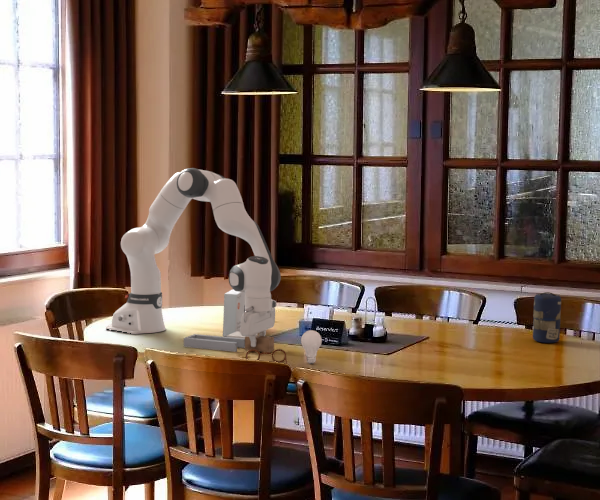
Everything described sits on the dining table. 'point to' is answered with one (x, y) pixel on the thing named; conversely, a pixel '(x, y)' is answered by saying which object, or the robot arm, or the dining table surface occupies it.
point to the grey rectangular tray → (214, 342)
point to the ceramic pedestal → (237, 335)
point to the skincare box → (233, 311)
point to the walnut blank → (261, 343)
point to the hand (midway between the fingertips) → (257, 344)
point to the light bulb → (311, 344)
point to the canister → (546, 317)
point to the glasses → (268, 353)
